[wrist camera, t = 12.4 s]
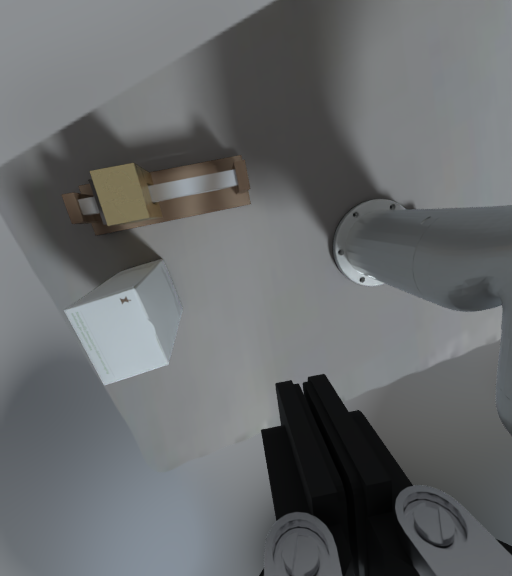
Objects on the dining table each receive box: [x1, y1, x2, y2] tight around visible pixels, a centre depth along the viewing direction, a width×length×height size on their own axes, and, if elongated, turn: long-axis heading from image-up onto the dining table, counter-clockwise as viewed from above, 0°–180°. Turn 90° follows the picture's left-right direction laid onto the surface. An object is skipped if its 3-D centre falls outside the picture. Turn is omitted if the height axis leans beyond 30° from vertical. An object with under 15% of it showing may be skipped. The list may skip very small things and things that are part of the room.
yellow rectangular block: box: [90, 163, 163, 226], centre depth 30 cm, size 4×5×7 cm
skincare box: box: [64, 259, 183, 385], centre depth 32 cm, size 8×7×16 cm
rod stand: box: [62, 155, 251, 235], centre depth 33 cm, size 20×6×8 cm, turn 101°
